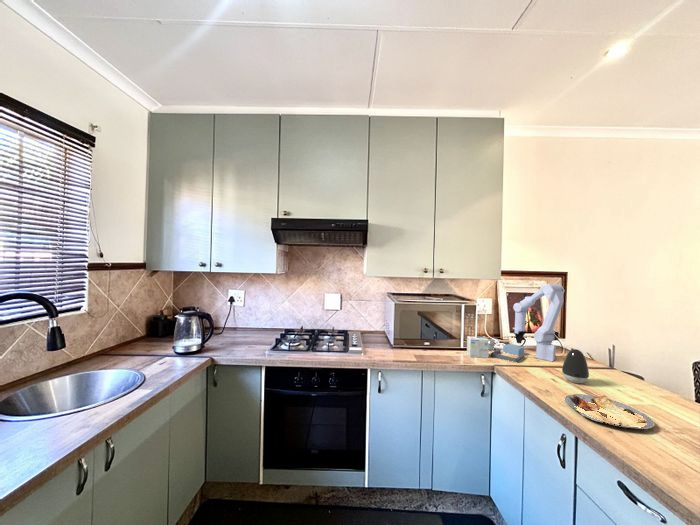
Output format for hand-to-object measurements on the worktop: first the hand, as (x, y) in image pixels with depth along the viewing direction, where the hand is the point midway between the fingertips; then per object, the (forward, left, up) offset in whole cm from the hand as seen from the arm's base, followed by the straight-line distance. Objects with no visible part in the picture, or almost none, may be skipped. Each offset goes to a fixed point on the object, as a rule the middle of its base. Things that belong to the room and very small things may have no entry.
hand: (519, 343), depth 197 cm
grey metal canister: (+13, +14, -4) cm, 20 cm away
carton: (0, +12, -5) cm, 12 cm away
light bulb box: (+13, +35, -5) cm, 38 cm away
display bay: (0, +23, -4) cm, 24 cm away
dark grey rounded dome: (-34, +39, -4) cm, 52 cm away
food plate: (-47, +70, -5) cm, 85 cm away
